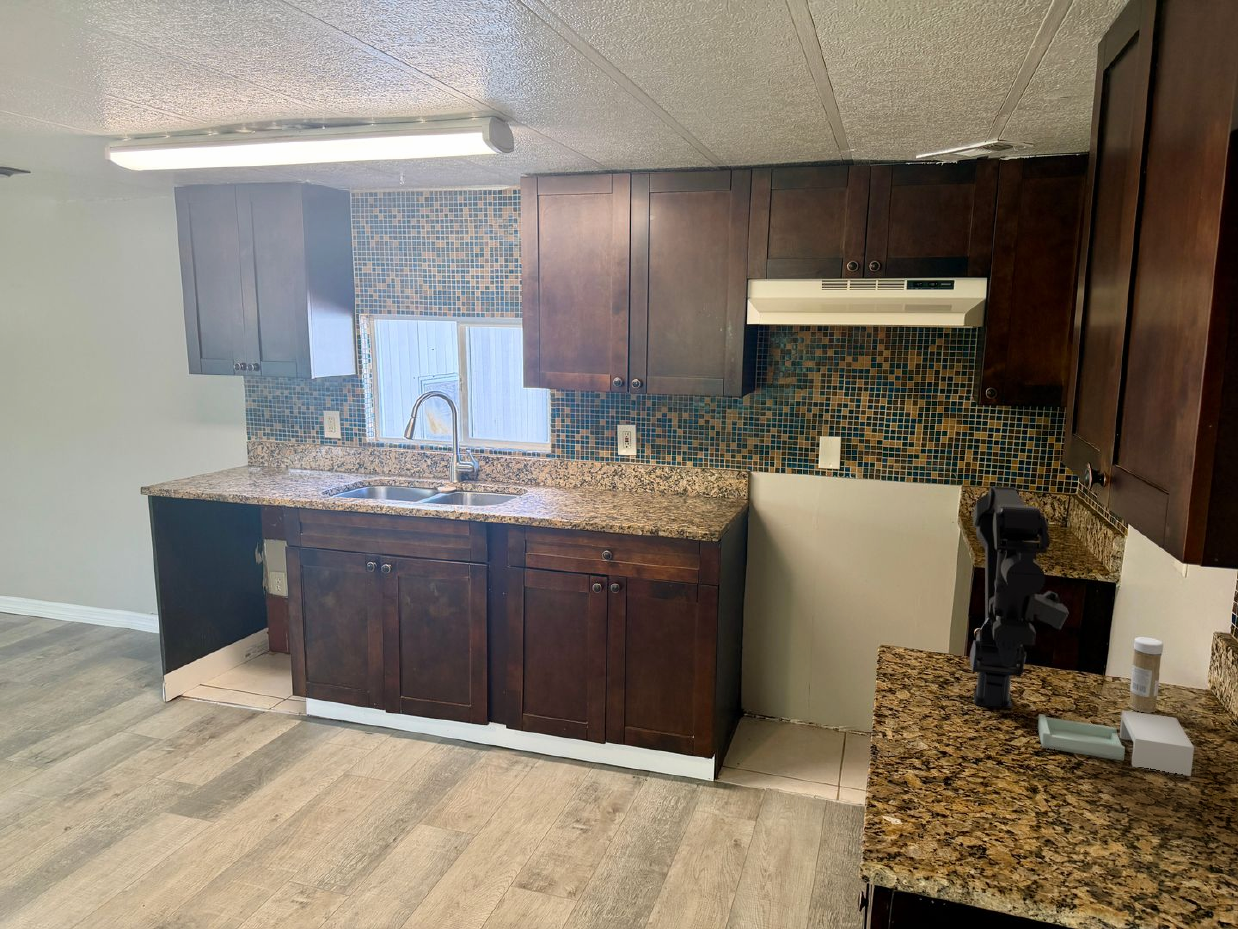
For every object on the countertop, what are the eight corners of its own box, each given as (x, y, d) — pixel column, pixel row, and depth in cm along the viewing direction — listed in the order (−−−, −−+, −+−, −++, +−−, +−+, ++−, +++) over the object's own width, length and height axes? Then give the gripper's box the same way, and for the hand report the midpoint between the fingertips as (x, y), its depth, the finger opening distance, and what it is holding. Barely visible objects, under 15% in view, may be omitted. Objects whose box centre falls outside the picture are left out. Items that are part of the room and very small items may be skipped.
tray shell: (1037, 727, 150) (1038, 714, 150) (1114, 739, 146) (1116, 725, 146) (1042, 747, 143) (1043, 733, 143) (1123, 760, 139) (1125, 745, 138)
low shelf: (1119, 736, 147) (1122, 710, 147) (1173, 744, 144) (1176, 718, 144) (1132, 766, 137) (1135, 738, 136) (1190, 776, 134) (1194, 747, 133)
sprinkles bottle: (1162, 713, 157) (1169, 643, 155) (1141, 715, 156) (1149, 645, 154) (1141, 703, 161) (1148, 635, 159) (1121, 705, 160) (1128, 637, 158)
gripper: (1074, 600, 133) (1066, 694, 136) (1060, 570, 150) (1052, 654, 153) (997, 592, 137) (990, 683, 139) (992, 564, 154) (985, 646, 157)
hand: (1007, 666), depth 147 cm, fingers closed
